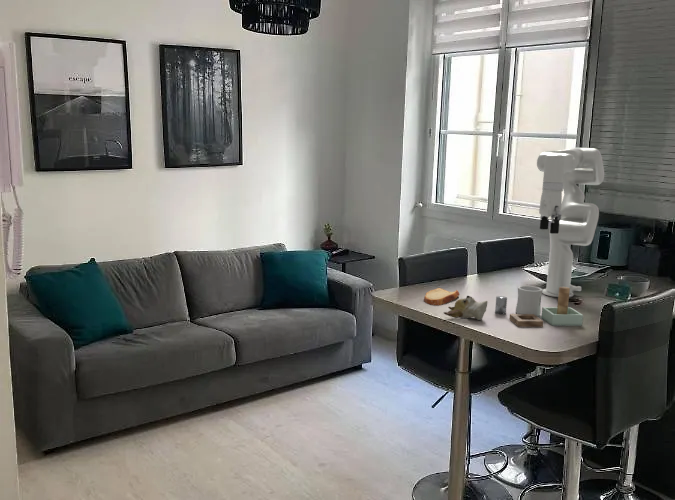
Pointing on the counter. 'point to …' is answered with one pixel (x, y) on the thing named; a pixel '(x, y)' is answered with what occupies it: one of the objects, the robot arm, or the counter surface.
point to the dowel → (563, 300)
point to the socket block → (526, 320)
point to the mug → (529, 300)
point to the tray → (561, 317)
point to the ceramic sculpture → (467, 308)
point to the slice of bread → (440, 296)
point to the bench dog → (501, 305)
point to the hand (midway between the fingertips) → (548, 231)
